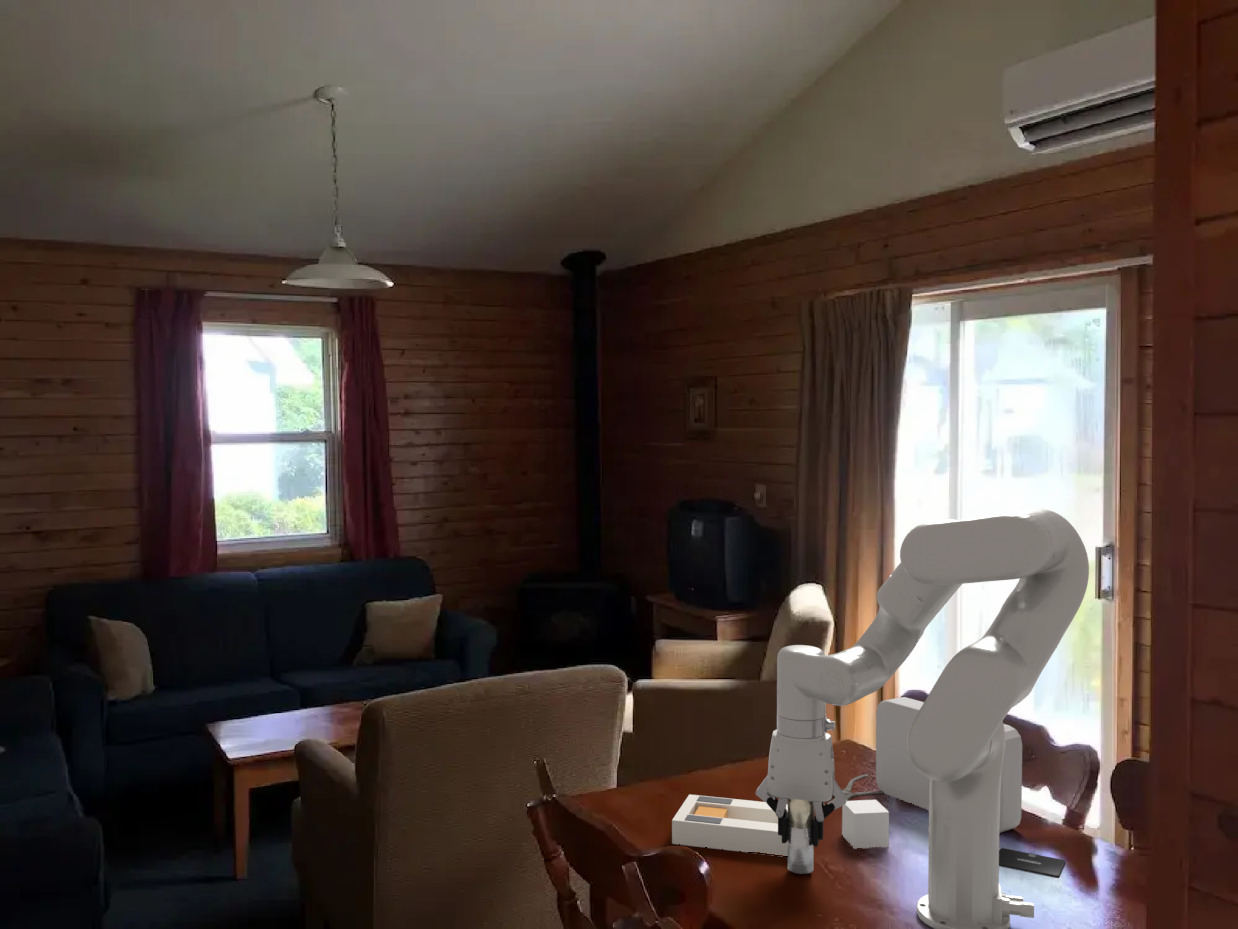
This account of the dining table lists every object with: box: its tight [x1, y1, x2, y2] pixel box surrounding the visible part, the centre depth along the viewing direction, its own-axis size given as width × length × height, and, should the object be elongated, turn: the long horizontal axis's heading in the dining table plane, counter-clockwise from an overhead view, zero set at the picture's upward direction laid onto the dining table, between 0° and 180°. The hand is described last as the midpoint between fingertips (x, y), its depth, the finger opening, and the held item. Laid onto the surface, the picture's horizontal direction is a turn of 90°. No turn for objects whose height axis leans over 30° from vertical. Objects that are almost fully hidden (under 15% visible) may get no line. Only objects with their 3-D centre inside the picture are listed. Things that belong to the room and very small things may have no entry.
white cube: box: [841, 799, 890, 850], centre depth 177 cm, size 6×6×6 cm
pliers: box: [831, 773, 884, 801], centre depth 201 cm, size 10×1×20 cm
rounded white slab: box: [875, 696, 1023, 834], centre depth 192 cm, size 29×8×18 cm, turn 33°
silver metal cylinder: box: [787, 799, 815, 875], centre depth 164 cm, size 4×4×12 cm
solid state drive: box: [999, 847, 1066, 878], centre depth 168 cm, size 7×10×1 cm
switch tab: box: [694, 806, 728, 818], centre depth 181 cm, size 5×5×2 cm
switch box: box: [671, 793, 788, 857], centre depth 179 cm, size 22×13×4 cm, turn 73°
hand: (800, 840), depth 164 cm, fingers open, 4 cm apart
